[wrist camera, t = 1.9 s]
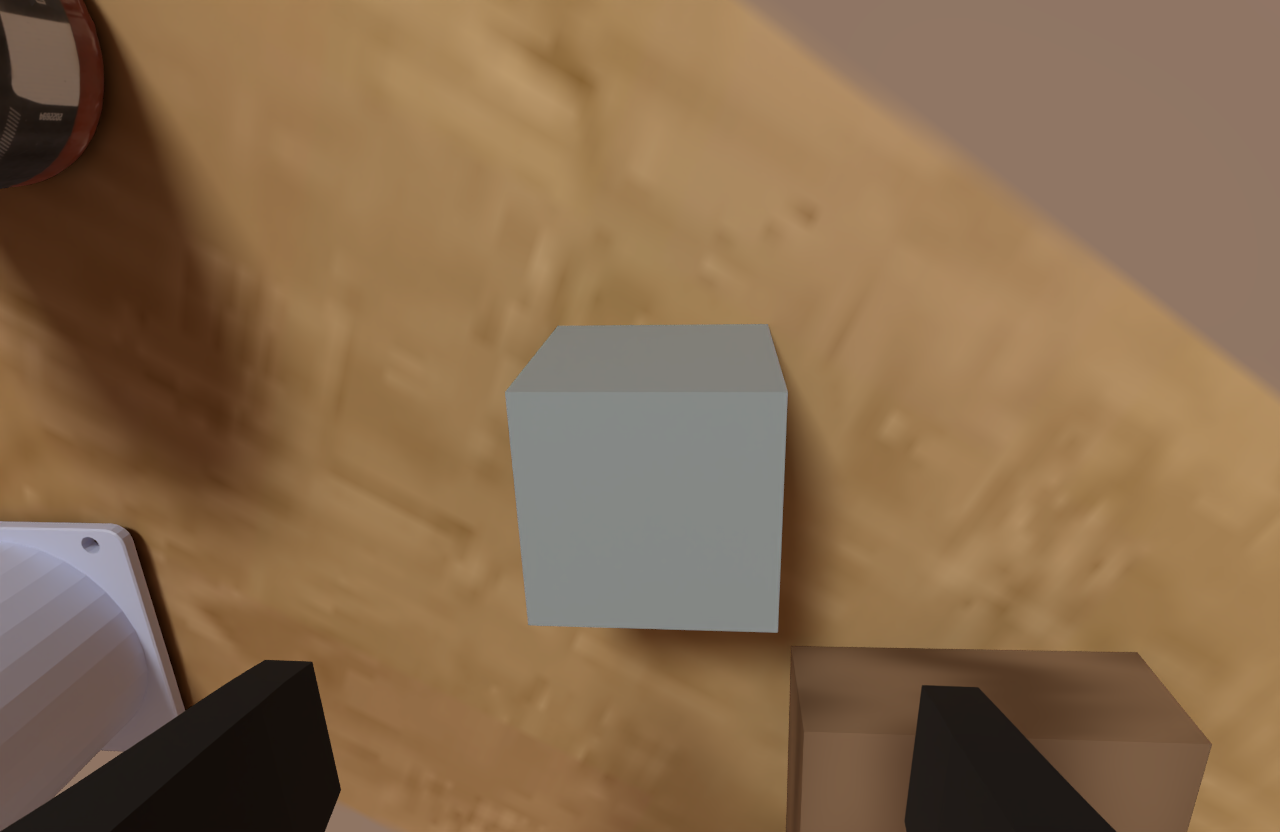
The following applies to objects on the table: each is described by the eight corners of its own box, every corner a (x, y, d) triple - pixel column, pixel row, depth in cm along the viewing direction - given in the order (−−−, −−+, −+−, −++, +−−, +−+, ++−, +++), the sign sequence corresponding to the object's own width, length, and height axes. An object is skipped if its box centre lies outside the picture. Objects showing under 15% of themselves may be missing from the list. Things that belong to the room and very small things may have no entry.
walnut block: (783, 869, 24) (794, 984, 21) (789, 638, 21) (804, 731, 18) (1077, 883, 23) (1136, 1006, 20) (1130, 644, 20) (1212, 744, 17)
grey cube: (571, 509, 20) (528, 625, 15) (558, 325, 18) (505, 392, 13) (761, 512, 19) (777, 632, 15) (767, 323, 18) (787, 391, 13)
